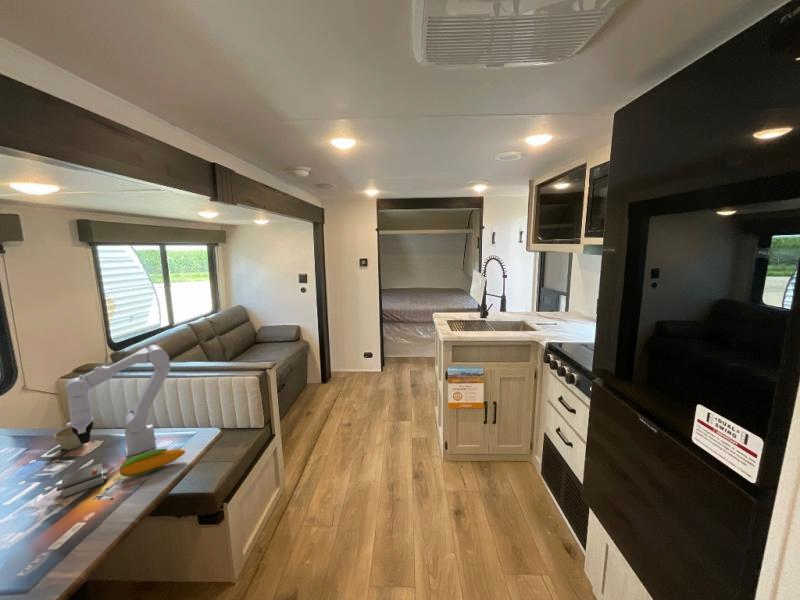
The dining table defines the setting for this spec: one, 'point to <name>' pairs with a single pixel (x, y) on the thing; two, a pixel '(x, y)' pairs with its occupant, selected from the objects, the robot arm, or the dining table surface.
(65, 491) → the cooker
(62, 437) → the flower pot
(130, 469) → the corn
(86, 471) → the lid
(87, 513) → the dining table surface
